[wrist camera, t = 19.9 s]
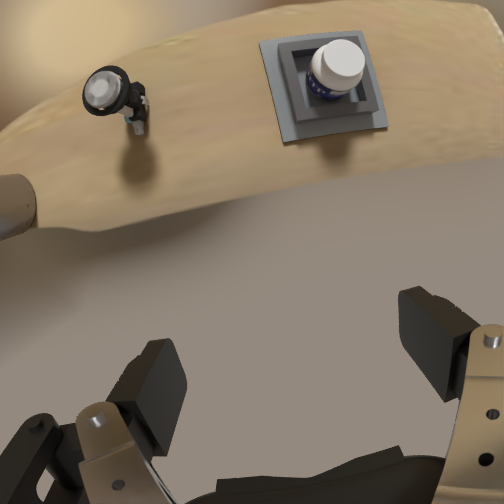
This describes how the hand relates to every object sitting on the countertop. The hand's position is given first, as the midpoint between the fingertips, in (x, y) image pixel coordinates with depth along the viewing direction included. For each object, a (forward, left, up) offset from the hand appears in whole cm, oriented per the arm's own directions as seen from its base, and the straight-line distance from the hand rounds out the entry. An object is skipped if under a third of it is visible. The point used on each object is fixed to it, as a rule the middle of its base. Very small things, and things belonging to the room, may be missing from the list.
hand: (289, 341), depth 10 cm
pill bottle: (-2, +18, -27) cm, 33 cm away
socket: (-2, +18, -28) cm, 33 cm away
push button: (-21, +5, -28) cm, 35 cm away
